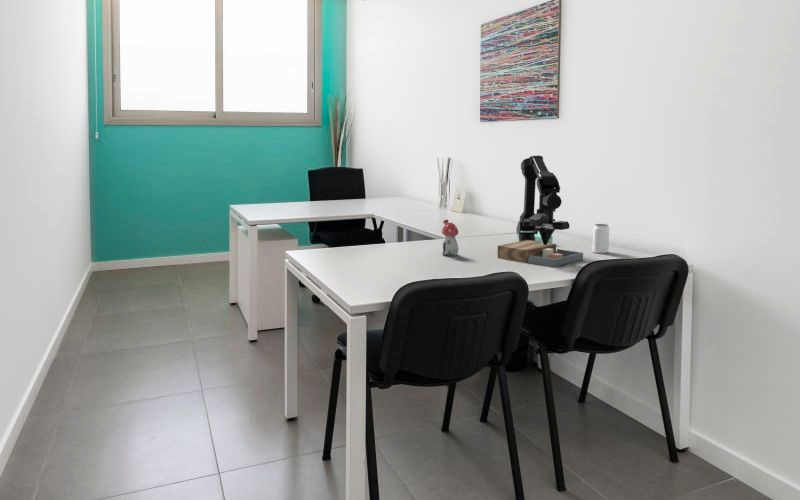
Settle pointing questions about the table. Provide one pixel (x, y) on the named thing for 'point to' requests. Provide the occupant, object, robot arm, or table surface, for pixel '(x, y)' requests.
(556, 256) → the terracotta tile
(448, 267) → the table surface
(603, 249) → the can
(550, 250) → the cream tile
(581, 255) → the box
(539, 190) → the robot arm
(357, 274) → the table surface
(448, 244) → the decorative ornament
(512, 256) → the walnut plate
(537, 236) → the container
